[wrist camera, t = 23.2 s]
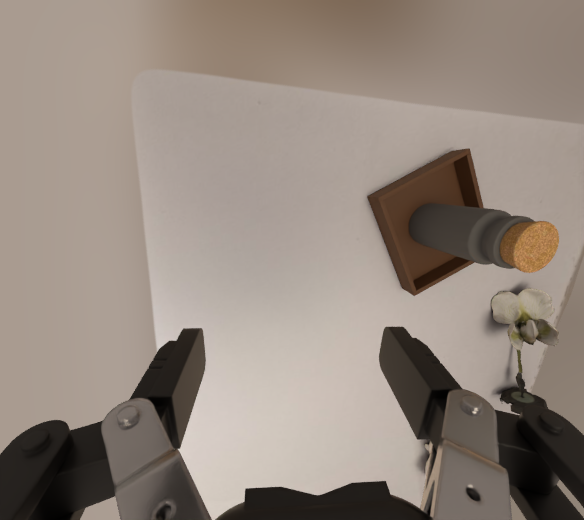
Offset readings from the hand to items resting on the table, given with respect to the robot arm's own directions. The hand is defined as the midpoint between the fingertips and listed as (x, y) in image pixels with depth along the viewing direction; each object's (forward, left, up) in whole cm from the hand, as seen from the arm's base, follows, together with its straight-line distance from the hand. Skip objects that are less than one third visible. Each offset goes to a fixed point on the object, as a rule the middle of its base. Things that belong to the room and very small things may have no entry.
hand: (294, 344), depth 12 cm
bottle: (+9, +22, -24) cm, 34 cm away
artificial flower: (+38, +29, -25) cm, 53 cm away
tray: (+10, +22, -24) cm, 34 cm away
